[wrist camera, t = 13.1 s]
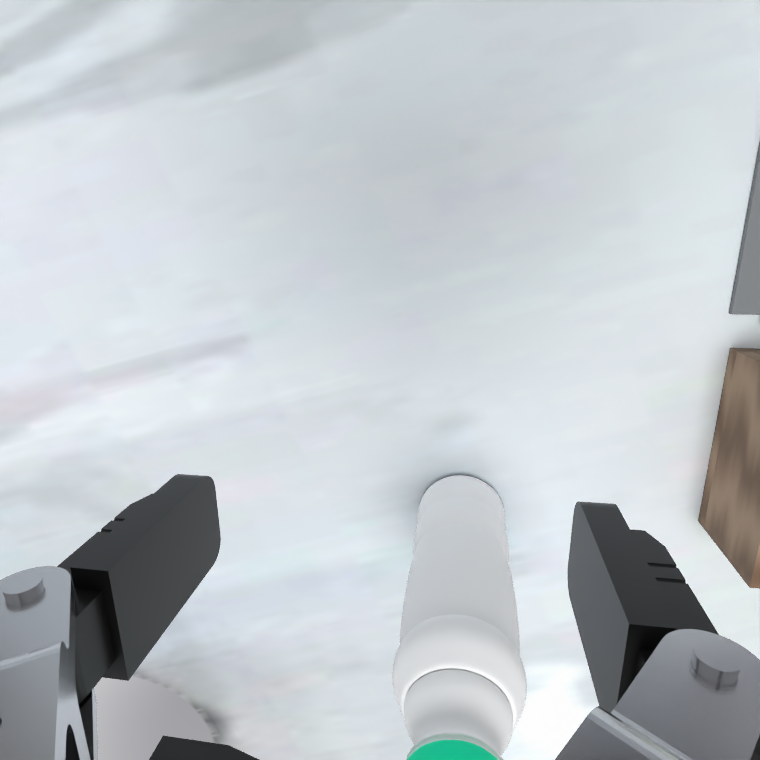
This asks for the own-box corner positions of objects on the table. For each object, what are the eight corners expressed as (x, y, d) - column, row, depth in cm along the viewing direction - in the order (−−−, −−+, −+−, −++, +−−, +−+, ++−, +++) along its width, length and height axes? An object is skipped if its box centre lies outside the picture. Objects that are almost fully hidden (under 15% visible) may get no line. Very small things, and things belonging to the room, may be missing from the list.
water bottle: (520, 522, 44) (582, 869, 21) (450, 559, 46) (433, 913, 23) (473, 456, 43) (481, 743, 20) (403, 497, 45) (334, 800, 22)
